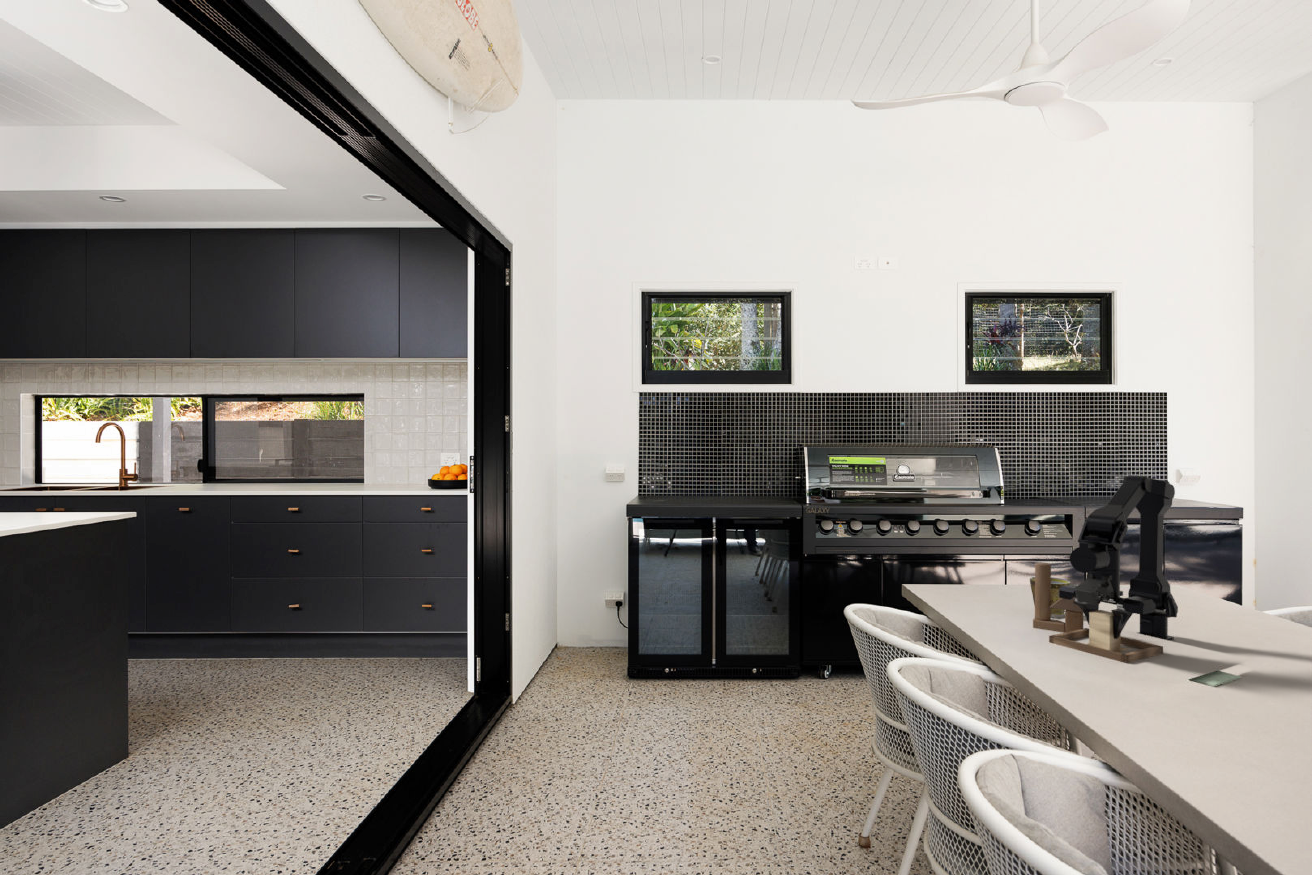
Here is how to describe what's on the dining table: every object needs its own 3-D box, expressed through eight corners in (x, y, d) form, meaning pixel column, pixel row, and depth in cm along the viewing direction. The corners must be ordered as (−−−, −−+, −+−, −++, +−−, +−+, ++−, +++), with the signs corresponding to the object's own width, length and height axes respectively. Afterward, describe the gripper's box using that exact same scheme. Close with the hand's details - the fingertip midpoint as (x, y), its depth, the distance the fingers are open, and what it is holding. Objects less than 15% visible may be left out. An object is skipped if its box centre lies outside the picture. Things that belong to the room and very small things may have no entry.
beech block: (1100, 643, 163) (1100, 609, 163) (1120, 648, 159) (1120, 614, 159) (1089, 646, 161) (1089, 611, 161) (1109, 651, 157) (1109, 616, 157)
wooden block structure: (1081, 641, 170) (1081, 568, 170) (1032, 633, 177) (1032, 563, 177) (1083, 638, 173) (1084, 566, 173) (1035, 630, 179) (1035, 561, 179)
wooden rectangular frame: (1086, 640, 171) (1086, 627, 171) (1163, 659, 156) (1163, 646, 156) (1049, 648, 164) (1049, 635, 164) (1125, 669, 149) (1126, 655, 149)
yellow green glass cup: (1078, 620, 190) (1078, 583, 190) (1041, 619, 190) (1041, 583, 190) (1051, 608, 203) (1051, 574, 203) (1017, 608, 203) (1017, 574, 203)
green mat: (1180, 662, 154) (1180, 661, 154) (1240, 678, 144) (1240, 676, 144) (1153, 670, 148) (1153, 668, 148) (1214, 686, 139) (1214, 684, 139)
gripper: (1044, 564, 164) (1044, 630, 164) (1129, 578, 148) (1128, 651, 148) (1072, 561, 170) (1072, 624, 170) (1157, 574, 153) (1156, 644, 153)
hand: (1104, 635), depth 160 cm, fingers closed on beech block, 4 cm apart
